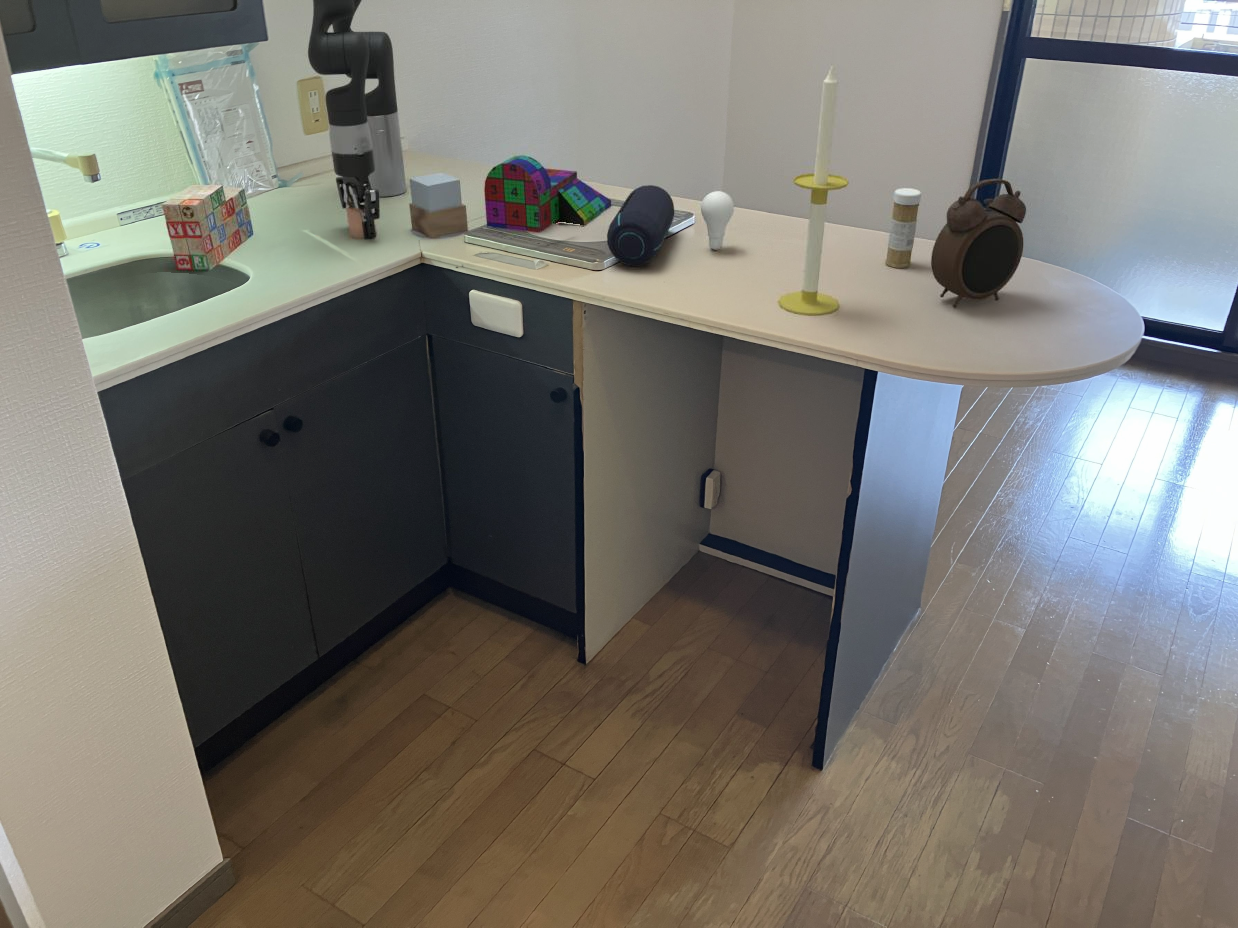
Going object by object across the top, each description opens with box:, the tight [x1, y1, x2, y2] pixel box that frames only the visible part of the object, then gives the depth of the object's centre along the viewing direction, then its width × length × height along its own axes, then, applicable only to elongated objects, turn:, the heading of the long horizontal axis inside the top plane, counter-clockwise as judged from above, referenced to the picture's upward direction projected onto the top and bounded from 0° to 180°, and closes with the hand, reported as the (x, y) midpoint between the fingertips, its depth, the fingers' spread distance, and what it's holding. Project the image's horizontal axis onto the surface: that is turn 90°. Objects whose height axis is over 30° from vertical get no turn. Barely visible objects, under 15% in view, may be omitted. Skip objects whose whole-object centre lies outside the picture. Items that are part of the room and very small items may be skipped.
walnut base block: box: [408, 202, 469, 240], centre depth 197 cm, size 8×8×5 cm
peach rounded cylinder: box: [345, 206, 378, 239], centre depth 195 cm, size 5×5×6 cm
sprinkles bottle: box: [885, 187, 922, 269], centre depth 180 cm, size 5×5×13 cm
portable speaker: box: [606, 184, 675, 267], centre depth 189 cm, size 25×10×10 cm, turn 170°
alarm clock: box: [930, 178, 1027, 309], centre depth 162 cm, size 14×7×20 cm, turn 114°
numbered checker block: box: [483, 154, 612, 233], centre depth 205 cm, size 25×17×14 cm
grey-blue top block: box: [409, 172, 463, 212], centre depth 195 cm, size 7×7×5 cm
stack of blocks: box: [161, 184, 254, 271], centre depth 188 cm, size 21×6×12 cm, turn 177°
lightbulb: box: [700, 190, 735, 251], centre depth 188 cm, size 6×6×11 cm
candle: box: [777, 63, 850, 316], centre depth 157 cm, size 10×10×38 cm
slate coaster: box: [411, 228, 467, 240], centre depth 199 cm, size 11×11×1 cm
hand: (363, 235), depth 197 cm, fingers closed on peach rounded cylinder, 5 cm apart
